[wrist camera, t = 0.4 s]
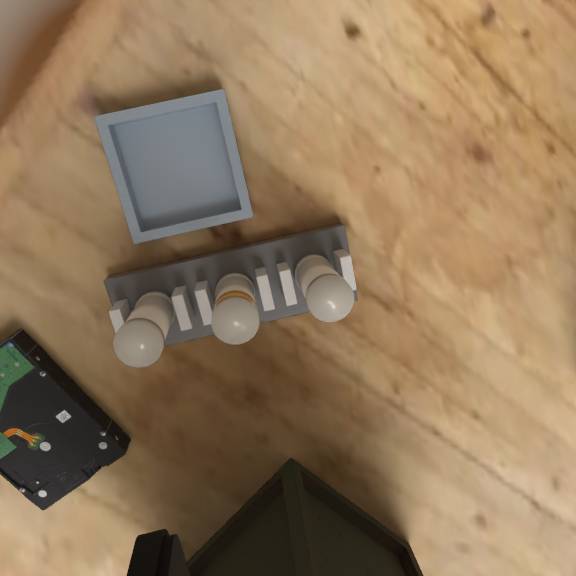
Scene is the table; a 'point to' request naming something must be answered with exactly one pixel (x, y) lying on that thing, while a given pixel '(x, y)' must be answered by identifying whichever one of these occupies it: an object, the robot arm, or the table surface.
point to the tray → (175, 165)
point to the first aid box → (303, 535)
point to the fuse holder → (212, 266)
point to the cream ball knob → (145, 330)
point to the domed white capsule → (323, 288)
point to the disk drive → (49, 425)
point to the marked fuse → (235, 309)
